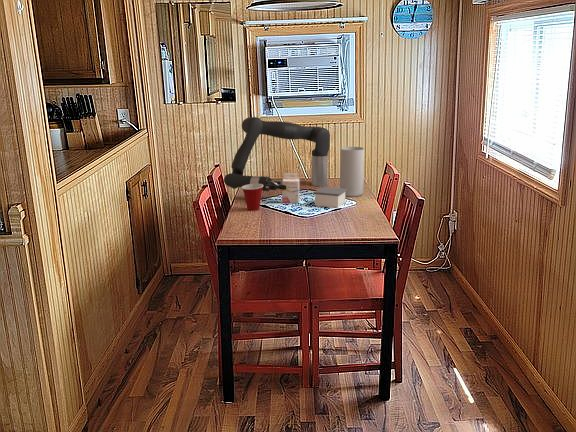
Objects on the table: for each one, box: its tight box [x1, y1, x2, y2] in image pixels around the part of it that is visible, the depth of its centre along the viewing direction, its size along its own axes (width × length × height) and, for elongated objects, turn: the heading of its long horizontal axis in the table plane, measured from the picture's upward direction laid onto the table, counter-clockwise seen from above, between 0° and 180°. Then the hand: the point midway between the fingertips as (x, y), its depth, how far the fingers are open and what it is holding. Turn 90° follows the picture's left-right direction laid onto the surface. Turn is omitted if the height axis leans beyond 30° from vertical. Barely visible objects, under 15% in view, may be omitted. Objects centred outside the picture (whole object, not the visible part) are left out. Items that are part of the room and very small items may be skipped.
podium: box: [313, 186, 347, 209], centre depth 299 cm, size 13×13×7 cm
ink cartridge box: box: [281, 172, 300, 204], centre depth 302 cm, size 9×5×15 cm, turn 84°
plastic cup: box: [240, 184, 263, 212], centre depth 289 cm, size 11×11×12 cm
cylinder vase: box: [339, 146, 365, 198], centre depth 317 cm, size 12×12×25 cm
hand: (289, 185), depth 302 cm, fingers open, 8 cm apart
